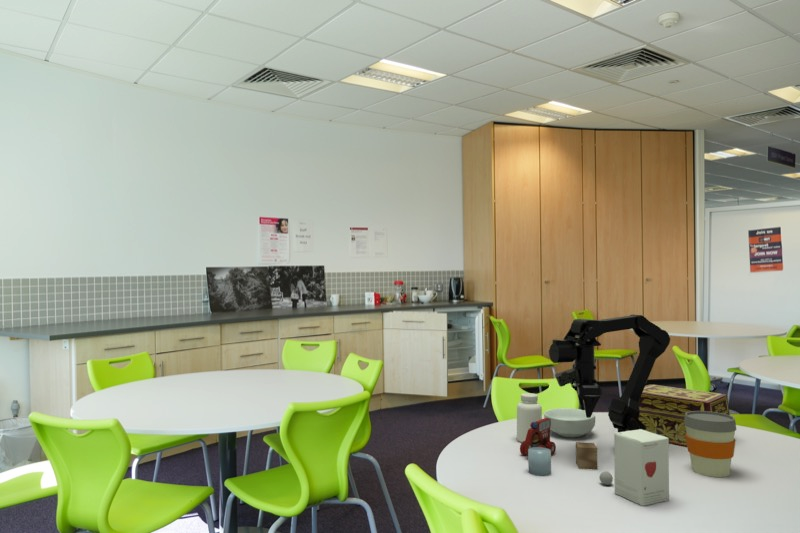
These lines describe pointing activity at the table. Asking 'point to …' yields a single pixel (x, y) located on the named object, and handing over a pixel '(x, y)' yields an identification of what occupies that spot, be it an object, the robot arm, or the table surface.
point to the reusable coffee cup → (710, 442)
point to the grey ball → (606, 478)
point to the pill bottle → (527, 414)
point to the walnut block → (586, 455)
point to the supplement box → (641, 466)
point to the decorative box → (675, 409)
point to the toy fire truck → (538, 437)
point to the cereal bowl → (570, 421)
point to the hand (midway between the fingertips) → (585, 413)
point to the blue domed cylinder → (539, 461)
